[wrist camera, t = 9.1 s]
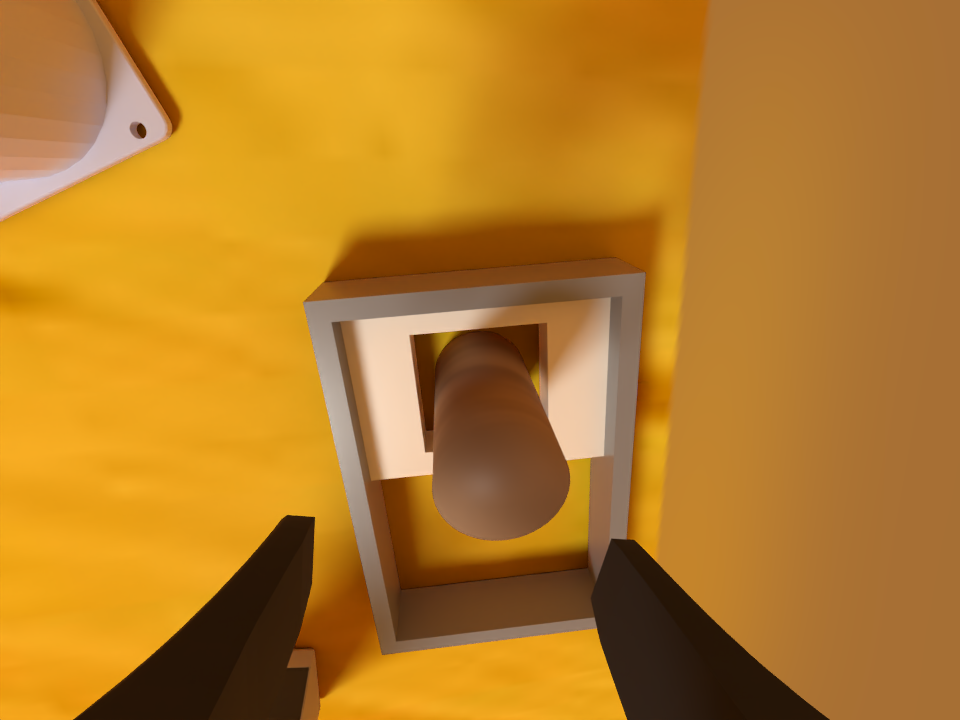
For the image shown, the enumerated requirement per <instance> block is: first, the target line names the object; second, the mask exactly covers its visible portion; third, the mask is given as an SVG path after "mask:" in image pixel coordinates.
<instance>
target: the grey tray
mask: <svg viewBox="0 0 960 720" xmlns="http://www.w3.org/2000/svg"><path fill="white" fill-rule="evenodd" d="M645 276H646V272H644V271H642V270H640V269H638V268H636V267H634V266H632V265H630V264H628V263H626V262H624V261H622V260H620V259H618V258H616V257H615V258H603V259H591V260H579V261H567V262H556V263H544V264H532V265H520V266H508V267H497V268H485V269H473V270H461V271H449V272H438V273H426V274H414V275H402V276H390V277H379V278H367V279H355V280H343V281H331V282H323V283H322V284H321V285H320V286H319V287H318V288H317V289H316V290H315V291H314V292H313V293H312V294H311V295H310V296H309V297H308V298H307V299H306V300H305V301H304V302H303V303H304V308H305V312H306V317H307V321H308V326H309V330H310V335H311V339H312V344H313V348H314V353H315V357H316V362H317V366H318V370H319V375H320V379H321V384H322V388H323V393H324V397H325V402H326V406H327V411H328V415H329V420H330V424H331V429H332V433H333V437H334V442H335V446H336V451H337V455H338V460H339V464H340V469H341V473H342V478H343V482H344V487H345V491H346V496H347V500H348V504H349V509H350V513H351V518H352V522H353V527H354V531H355V536H356V540H357V545H358V549H359V554H360V558H361V563H362V567H363V571H364V576H365V580H366V585H367V589H368V594H369V598H370V603H371V607H372V612H373V616H374V621H375V625H376V630H377V634H378V639H379V643H380V647H381V652H382V655H385V654H393V653H401V652H409V651H417V650H425V649H433V648H441V647H449V646H458V645H466V644H474V643H482V642H490V641H498V640H506V639H514V638H522V637H530V636H538V635H546V634H554V633H562V632H570V631H578V630H586V629H594V628H597V626H596V622H595V617H594V612H593V607H592V603H591V595H592V592H593V589H594V587H595V584H596V581H597V578H598V575H599V572H600V569H601V567H602V564H603V561H604V558H605V555H606V552H607V549H608V547H609V544H610V541H611V538H613V539H627V525H628V511H629V497H630V483H631V469H632V456H633V442H634V428H635V414H636V400H637V386H638V373H639V359H640V345H641V331H642V317H643V304H644V290H645ZM527 324H539V376H540V401H541V403H542V406H543V408H544V410H545V412H546V415H547V417H548V419H549V422H550V424H551V426H552V429H553V431H554V433H555V436H556V438H557V440H558V443H559V445H560V447H561V450H562V452H563V454H564V457H565V459H566V460H572V459H581V458H591V472H590V505H589V537H588V568H584V569H576V570H567V571H559V572H550V573H542V574H533V575H525V576H516V577H508V578H499V579H491V580H482V581H474V582H465V583H457V584H448V585H440V586H431V587H423V588H414V589H406V590H401V588H400V583H399V577H398V572H397V566H396V561H395V556H394V550H393V545H392V539H391V534H390V529H389V523H388V518H387V512H386V507H385V502H384V496H383V491H382V485H381V480H383V479H392V478H402V477H411V476H421V475H430V474H433V440H434V430H430V431H426V426H425V418H424V410H423V403H422V395H421V388H420V380H419V372H418V365H417V357H416V350H415V342H414V335H417V334H428V333H439V332H450V331H461V330H472V329H483V328H494V327H505V326H516V325H527Z"/></svg>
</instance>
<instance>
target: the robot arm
mask: <svg viewBox="0 0 960 720" xmlns="http://www.w3.org/2000/svg"><path fill="white" fill-rule="evenodd" d="M139 123H142V124H143V125H144V126H145V128H146V131H147V133H146V136H145V137H144V138H141V137H140V136H139V135H138V132H137V125H138V124H139ZM171 133H172V124H171V121H170V119H169V117H168V116H167V114H166V112H165V111H164V109H163V108H162V106H161V104H160V103H159V101H158V99H157V98H156V96H155V95H154V93H153V91H152V90H151V88H150V87H149V85H148V83H147V82H146V80H145V79H144V77H143V75H142V74H141V72H140V71H139V69H138V67H137V66H136V64H135V62H134V61H133V59H132V58H131V56H130V54H129V53H128V51H127V50H126V48H125V46H124V45H123V43H122V42H121V40H120V38H119V37H118V35H117V34H116V32H115V30H114V29H113V27H112V25H111V24H110V22H109V21H108V19H107V17H106V16H105V14H104V13H103V11H102V9H101V8H100V6H99V5H98V3H97V1H96V0H0V222H1V221H3V220H5V219H7V218H9V217H11V216H13V215H15V214H17V213H19V212H21V211H23V210H25V209H27V208H29V207H31V206H33V205H35V204H37V203H39V202H41V201H43V200H45V199H47V198H49V197H51V196H53V195H55V194H57V193H59V192H61V191H63V190H65V189H67V188H69V187H72V186H74V185H76V184H78V183H80V182H82V181H84V180H86V179H88V178H90V177H92V176H94V175H96V174H98V173H100V172H102V171H104V170H106V169H108V168H110V167H112V166H114V165H116V164H118V163H120V162H122V161H124V160H126V159H128V158H130V157H132V156H134V155H136V154H138V153H140V152H142V151H144V150H146V149H148V148H150V147H153V146H155V145H157V144H159V143H161V142H163V141H165V140H166V139H168V138H169V137H170V136H171ZM314 526H315V517H306V516H292V515H287V516H285V517H284V518H283V519H282V520H281V521H280V522H279V523H278V525H277V526H276V527H275V528H274V530H273V531H272V532H271V533H270V535H269V536H268V537H267V538H266V539H265V541H264V542H263V543H262V544H261V545H260V547H259V548H258V549H257V550H256V551H255V552H254V553H253V555H252V556H251V557H250V558H249V559H248V560H247V561H246V563H245V564H244V565H243V566H242V567H241V568H240V569H239V570H238V571H237V572H236V573H235V574H234V575H233V577H232V578H231V579H230V580H229V581H228V582H227V583H226V584H225V585H224V586H223V587H222V588H221V589H220V590H219V591H218V593H217V594H216V595H215V596H214V597H213V598H212V599H211V600H210V601H209V602H208V603H207V604H205V605H204V606H203V607H202V608H201V609H200V610H199V611H198V612H197V613H196V614H195V615H194V616H193V617H192V618H191V619H190V620H189V621H188V622H187V623H186V624H185V625H184V626H183V627H182V628H181V629H180V630H179V631H178V632H177V633H176V634H175V635H173V636H172V637H171V638H170V639H169V640H168V641H167V642H166V643H165V644H164V645H163V646H161V647H160V648H159V649H158V650H157V651H156V652H155V653H154V654H152V655H151V656H150V657H149V658H148V659H147V660H146V661H144V662H143V663H142V664H141V665H140V666H139V667H137V668H136V669H135V670H134V671H133V672H132V673H130V674H129V675H128V676H127V677H126V678H125V679H123V680H122V681H121V682H120V683H118V684H117V685H116V686H115V687H113V688H112V689H111V690H110V691H109V692H107V693H106V694H105V695H104V696H102V697H101V698H100V699H99V700H97V701H96V702H95V703H94V704H92V705H91V706H90V707H89V708H88V709H86V710H85V711H84V712H83V713H81V714H80V715H79V716H77V717H76V718H75V719H73V720H268V718H269V716H270V713H271V710H272V707H273V704H274V702H275V699H276V696H277V693H278V691H279V688H280V685H281V682H282V680H283V677H284V674H285V671H286V669H287V666H288V663H289V660H290V657H291V655H292V652H293V649H294V646H295V643H296V641H297V638H298V635H299V632H300V629H301V625H302V621H303V617H304V614H305V610H306V606H307V602H308V598H309V594H310V589H311V585H312V572H313V549H314ZM591 603H592V607H593V612H594V617H595V622H596V626H597V630H598V634H599V638H600V642H601V645H602V648H603V651H604V654H605V657H606V660H607V663H608V666H609V669H610V672H611V675H612V678H613V680H614V683H615V686H616V689H617V692H618V695H619V697H620V700H621V703H622V706H623V709H624V712H625V714H626V717H627V720H829V719H828V718H827V717H825V716H824V715H823V714H821V713H820V712H819V711H818V710H816V709H815V708H814V707H813V706H811V705H810V704H809V703H807V702H806V701H805V700H804V699H802V698H801V697H800V696H799V695H797V694H796V693H795V692H794V691H793V690H791V689H790V688H789V687H788V686H786V685H785V684H784V683H783V682H782V681H781V680H779V679H778V678H777V677H776V676H774V675H773V674H772V673H771V672H770V671H768V670H767V669H766V668H765V667H763V666H762V664H760V663H759V662H758V661H757V660H756V659H755V658H754V657H752V656H751V655H750V654H749V653H748V652H747V651H746V650H745V649H744V648H743V647H742V646H740V645H739V644H738V643H737V642H736V641H735V640H734V639H733V638H732V637H731V636H729V635H728V634H727V633H726V632H725V631H724V630H723V629H722V628H721V627H720V626H719V625H718V624H717V623H716V622H715V621H714V620H713V619H712V618H711V617H710V616H709V615H707V613H706V612H704V610H703V609H701V607H700V606H699V605H698V604H696V602H695V601H694V600H693V599H692V598H691V597H690V596H689V595H688V594H687V593H686V592H685V591H684V590H683V589H682V588H681V587H680V586H679V585H678V584H677V583H676V582H675V581H674V580H673V579H672V578H671V577H670V576H669V575H668V574H667V573H666V572H665V571H664V570H663V569H662V567H661V566H660V565H659V564H658V563H657V562H656V561H655V560H654V559H653V558H652V557H651V556H650V555H649V554H648V553H647V552H646V551H645V550H644V549H643V548H642V547H641V546H640V545H639V544H638V543H637V542H636V541H635V540H627V539H613V538H611V541H610V544H609V547H608V549H607V552H606V555H605V558H604V561H603V564H602V567H601V569H600V572H599V575H598V578H597V581H596V584H595V587H594V589H593V592H592V595H591Z"/></svg>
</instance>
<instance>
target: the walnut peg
mask: <svg viewBox="0 0 960 720" xmlns="http://www.w3.org/2000/svg"><path fill="white" fill-rule="evenodd" d="M569 486H570V473H569V467H568V464H567V461H566V459H565V457H564V454H563V452H562V450H561V447H560V445H559V443H558V440H557V438H556V436H555V433H554V431H553V429H552V426H551V424H550V422H549V419H548V417H547V415H546V412H545V410H544V408H543V406H542V403H541V401H540V399H539V396H538V394H537V392H536V389H535V387H534V385H533V382H532V380H531V378H530V375H529V373H528V371H527V368H526V366H525V364H524V361H523V359H522V357H521V355H520V353H519V351H518V349H517V348H516V347H515V346H514V344H513V343H512V342H510V341H509V340H508V339H506V338H505V337H503V336H501V335H499V334H496V333H493V332H488V331H474V332H469V333H466V334H463V335H461V336H459V337H457V338H455V339H454V340H452V341H451V342H450V343H449V344H448V345H447V346H446V347H445V348H444V349H443V350H442V352H441V353H440V355H439V357H438V360H437V363H436V368H435V399H434V440H433V482H432V492H433V499H434V502H435V505H436V507H437V509H438V511H439V513H440V514H441V516H442V517H443V518H444V519H445V521H446V522H447V523H448V524H450V525H451V526H452V527H453V528H455V529H456V530H458V531H460V532H461V533H464V534H466V535H468V536H471V537H474V538H478V539H483V540H508V539H514V538H518V537H521V536H524V535H527V534H529V533H531V532H534V531H535V530H537V529H539V528H541V527H542V526H543V525H545V524H546V523H548V522H549V521H550V520H551V519H552V518H553V517H554V516H555V515H556V514H557V512H558V511H559V510H560V508H561V507H562V505H563V504H564V502H565V499H566V497H567V494H568V491H569Z"/></svg>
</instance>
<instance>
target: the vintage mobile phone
mask: <svg viewBox="0 0 960 720" xmlns="http://www.w3.org/2000/svg"><path fill="white" fill-rule="evenodd" d="M319 710H320V697H319V687H318V677H317V667H316V657H315V651H314V649H312V648H309V649H293V652H292V655H291V657H290V660H289V663H288V666H287V669H286V671H285V674H284V677H283V680H282V682H281V685H280V688H279V691H278V693H277V696H276V699H275V702H274V704H273V707H272V710H271V713H270V716H269V718H268V720H317V719H318V715H319Z"/></svg>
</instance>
